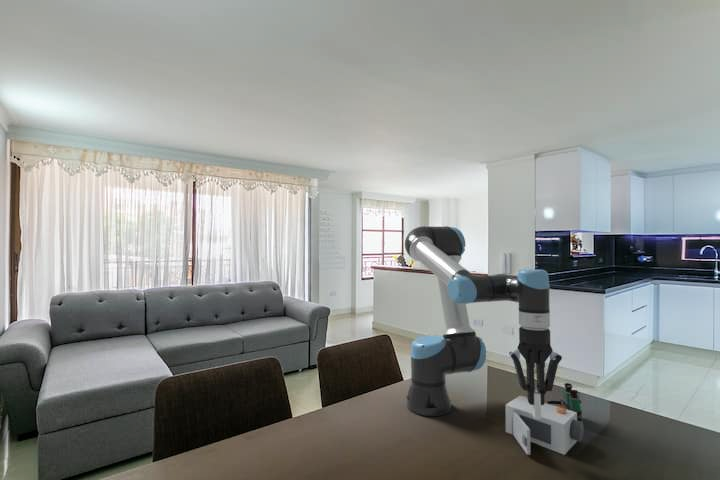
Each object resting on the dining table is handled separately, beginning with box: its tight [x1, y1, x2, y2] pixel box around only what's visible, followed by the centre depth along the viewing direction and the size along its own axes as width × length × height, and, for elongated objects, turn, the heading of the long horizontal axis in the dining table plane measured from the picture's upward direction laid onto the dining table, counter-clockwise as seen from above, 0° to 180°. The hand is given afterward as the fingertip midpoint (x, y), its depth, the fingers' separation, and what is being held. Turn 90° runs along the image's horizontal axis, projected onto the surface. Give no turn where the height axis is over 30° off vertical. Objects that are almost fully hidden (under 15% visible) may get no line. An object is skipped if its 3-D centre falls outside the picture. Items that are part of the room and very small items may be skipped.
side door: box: [511, 411, 531, 456], centre depth 100 cm, size 11×2×6 cm, turn 177°
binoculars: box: [546, 382, 584, 424], centre depth 115 cm, size 9×11×10 cm
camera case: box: [505, 394, 585, 456], centre depth 104 cm, size 18×10×9 cm, turn 42°
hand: (536, 416), depth 96 cm, fingers closed
